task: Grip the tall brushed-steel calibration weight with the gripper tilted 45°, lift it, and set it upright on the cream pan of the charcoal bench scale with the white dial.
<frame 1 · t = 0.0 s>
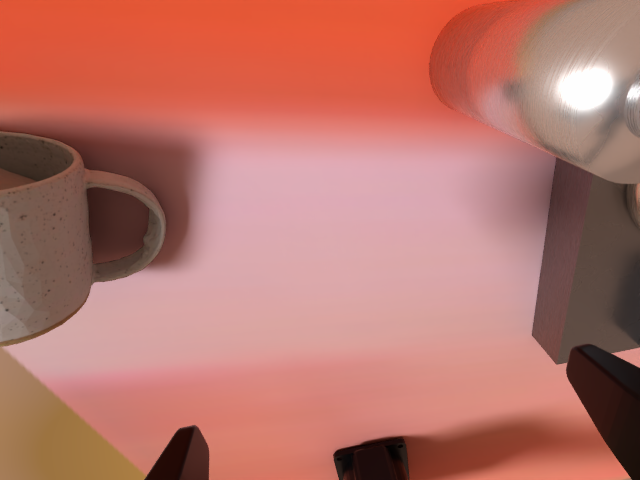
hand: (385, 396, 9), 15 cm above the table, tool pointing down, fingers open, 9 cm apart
steel weight: (476, 61, 20), on the table
ceramic mug: (66, 201, 21), on the table
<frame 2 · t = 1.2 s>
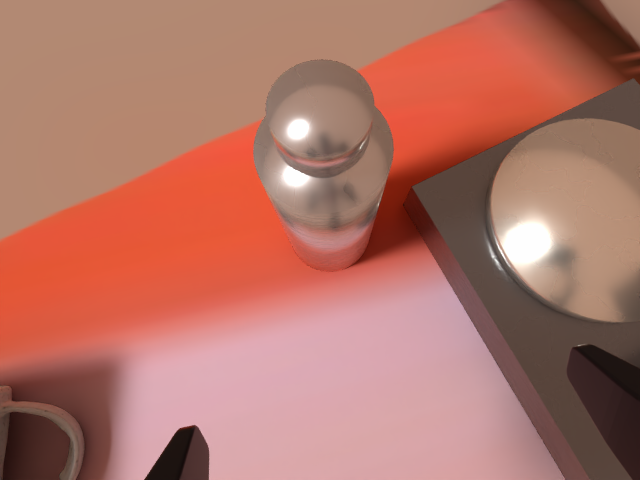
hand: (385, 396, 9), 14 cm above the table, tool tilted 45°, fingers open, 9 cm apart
bench scale: (558, 234, 24), on the table
steel weight: (329, 232, 24), on the table
ceramic mug: (1, 452, 22), on the table
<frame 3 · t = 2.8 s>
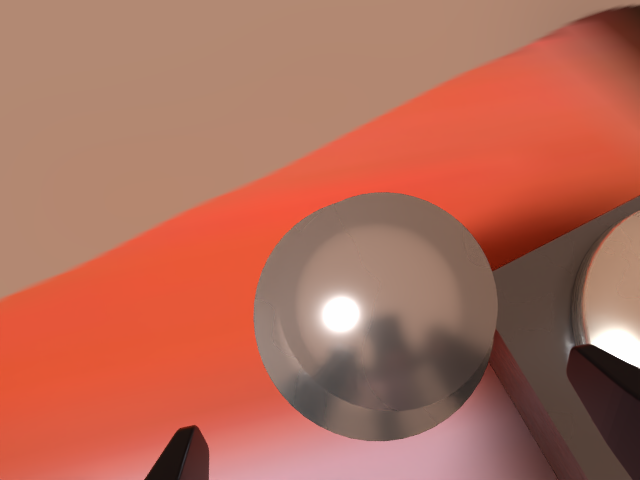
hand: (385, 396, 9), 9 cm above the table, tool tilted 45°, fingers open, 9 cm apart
steel weight: (353, 330, 19), on the table
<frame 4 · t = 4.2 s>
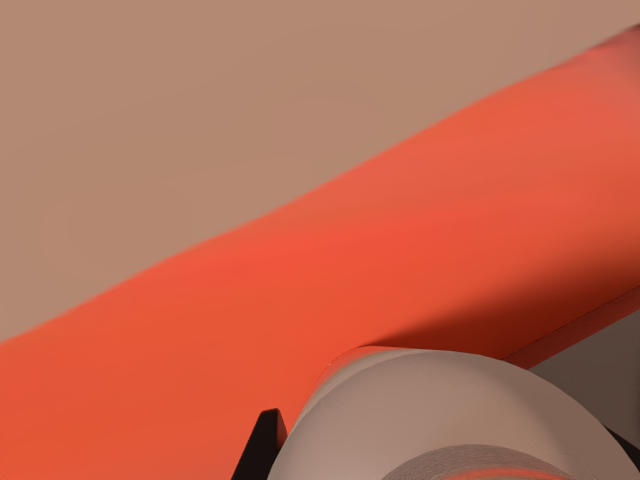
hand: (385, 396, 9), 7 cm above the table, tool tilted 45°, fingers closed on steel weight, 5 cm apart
steel weight: (374, 411, 15), on the table, touching gripper
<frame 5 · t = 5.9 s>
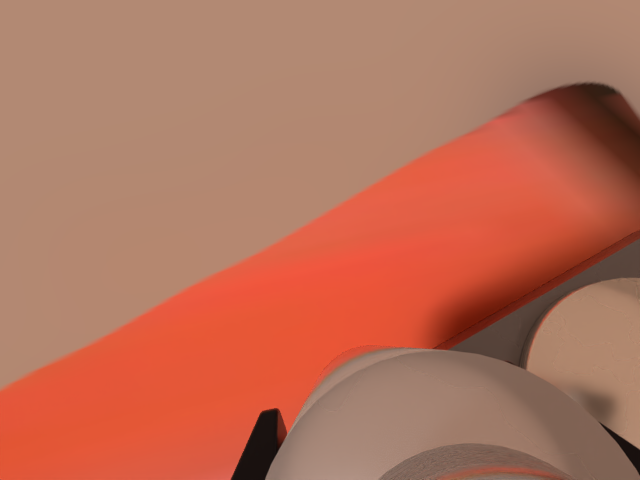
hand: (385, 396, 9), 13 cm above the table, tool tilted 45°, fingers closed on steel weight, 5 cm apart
bench scale: (596, 388, 21), on the table
steel weight: (373, 411, 15), point 7 cm above the table, touching gripper
when the fingers open (12 cm above the table, at t = 7.7 s): steel weight drops 1 cm, resting on bench scale.
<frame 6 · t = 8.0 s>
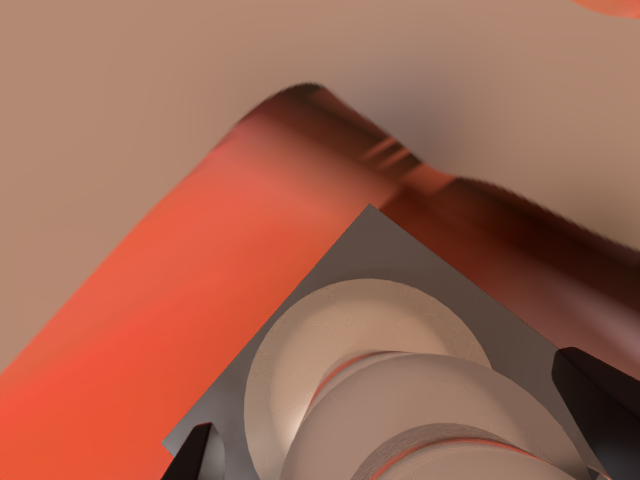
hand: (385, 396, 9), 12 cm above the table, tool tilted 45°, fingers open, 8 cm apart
bench scale: (364, 393, 20), on the table
steel weight: (371, 409, 16), point 4 cm above the table, touching bench scale
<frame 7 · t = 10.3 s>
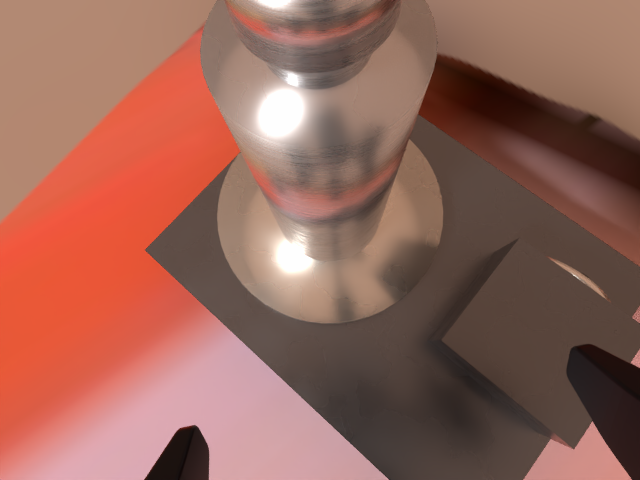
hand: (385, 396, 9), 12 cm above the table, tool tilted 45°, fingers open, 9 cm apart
bench scale: (330, 230, 23), on the table
steel weight: (329, 211, 19), point 4 cm above the table, touching bench scale
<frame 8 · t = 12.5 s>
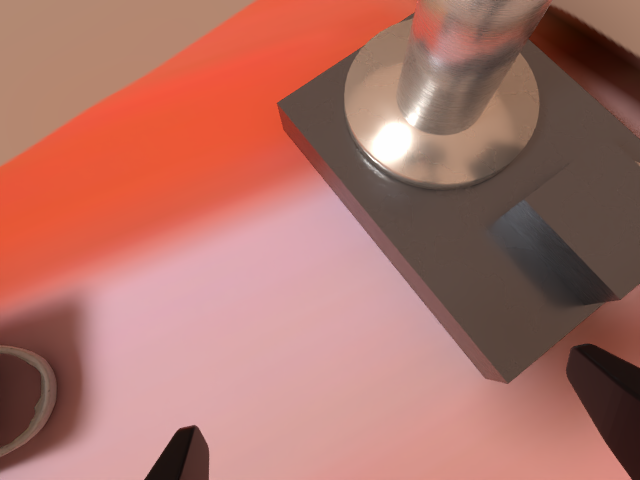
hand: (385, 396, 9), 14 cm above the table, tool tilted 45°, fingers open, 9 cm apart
bench scale: (425, 131, 26), on the table
steel weight: (440, 96, 22), point 4 cm above the table, touching bench scale
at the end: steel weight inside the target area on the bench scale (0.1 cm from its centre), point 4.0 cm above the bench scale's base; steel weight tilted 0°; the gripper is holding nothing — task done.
